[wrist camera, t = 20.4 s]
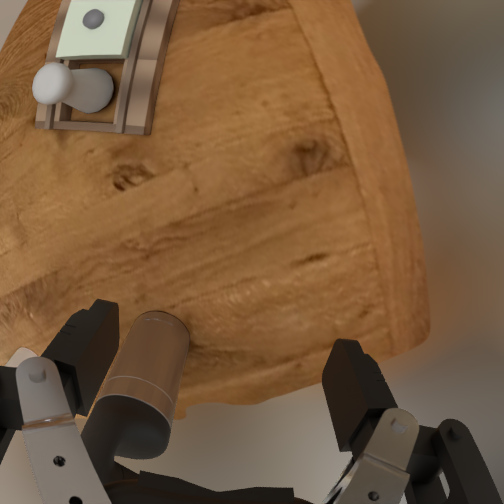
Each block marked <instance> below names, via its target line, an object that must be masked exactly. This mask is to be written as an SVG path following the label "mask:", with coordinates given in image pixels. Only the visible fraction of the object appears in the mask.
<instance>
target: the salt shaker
mask: <svg viewBox="0 0 504 504" xmlns="http://www.w3.org/2000/svg"><path fill="white" fill-rule="evenodd" d="M32 90H33V95H34V97H35V99H36V100H37V101H38V102H40V103H43V104H46V105H52V104H56V103H59V102H63V103H65V104H68V105H69V106H71V107H73V108H75V109H77V110H79V111H82V112H84V113H87V114H89V113H93V112H97V111H99V110H101V109H102V108H104V107H105V106H107V104H108V103H109V101H110V99H111V98H112V95H113V91H114V84H113V80H112V77H111V76H110V75H109V74H108V73H107V72H106V71H105V70H102V69H98V68H89V69H77V70H70V69H69V68H68V67H67V66H66V65H65V64H61V63H56V62H55V63H50V64H47V65H44V66H43V67H42V68H41V69H40V70H39V71H38V73H37V74H36V76H35V78H34V81H33V87H32Z"/></svg>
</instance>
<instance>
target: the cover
mask: <svg viewBox="0 0 504 504" xmlns="http://www.w3.org/2000/svg"><path fill="white" fill-rule="evenodd" d="M143 1H144V0H71V3H70V6H69V9H68V12H67V15H66V19H65V22H64V26H63V29H62V33H61V37H60V41H59V45H58V49H57V53H56V58H60V59H63V60H76V59H128V57H129V53H130V49H131V45H132V41H133V37H134V33H135V29H136V25H137V21H138V18H139V14H140V11H141V7H142V4H143Z"/></svg>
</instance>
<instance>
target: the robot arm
mask: <svg viewBox="0 0 504 504" xmlns="http://www.w3.org/2000/svg"><path fill="white" fill-rule="evenodd" d="M119 338H120V337H119V308H118V304H117V303H115V302H110V301H106V300H101V299H97V300H96V301H95V302H94V304H93V305H92V306H91V308H90V309H89V310H85V309H82V310H80V311H78V312H76V313H75V314H73V315H72V316H71V317H70V318H69V319H68V321H67V322H66V323H65V325H64V326H63V327H62V328H61V330H60V333H59V332H58V334H57V335H56V336H55V338H54V339H53V340H52V342H51V343H50V344H49V346H48V347H47V348H46V350H45V351H44V352H43V354H42V355H41V357H31V358H28V359H26V360H24V361H22V362H21V363H20V364H19V366H18V367H6V366H0V464H1V462H2V460H3V457H4V455H5V453H6V450H7V448H8V446H9V444H10V441H11V439H12V437H13V435H14V433H15V431H16V430H21V431H22V433H23V438H24V442H25V446H26V450H27V454H28V457H29V461H30V464H31V468H32V471H33V475H34V478H35V481H36V484H37V487H38V490H39V493H40V496H41V499H42V501H43V504H313V503H311V502H308V501H306V500H303V499H300V498H296V497H294V491H293V488H273V487H253V488H246V489H239V490H231V491H223V492H216V491H212V490H209V489H206V488H203V487H200V486H198V485H195V484H192V483H189V482H187V481H184V480H182V479H179V478H175V477H169V476H164V475H159V474H154V473H150V472H145V471H140V474H137V473H135V472H133V471H131V470H130V469H128V468H126V467H124V466H122V465H120V464H119V463H117V462H115V461H114V456H121V457H126V458H131V459H152V458H155V457H158V456H160V455H161V454H162V453H164V451H165V450H166V448H167V446H168V443H169V438H170V433H171V427H172V422H173V417H174V412H175V407H176V402H177V398H178V393H179V388H180V384H181V379H182V375H183V370H184V366H185V362H186V358H187V353H188V349H189V344H190V337H189V333H188V331H187V329H186V327H185V326H184V324H183V323H182V322H181V321H180V320H178V319H177V318H175V317H174V316H172V315H170V314H167V313H163V312H157V311H154V312H147V313H144V314H142V315H141V316H139V317H138V318H137V319H136V320H135V322H134V324H133V326H132V328H131V330H130V332H129V334H128V336H127V337H126V339H125V341H124V343H123V345H122V347H121V349H120V352H119V354H118V356H117V358H116V360H115V362H114V364H113V366H112V368H111V370H110V372H109V375H108V377H107V379H106V381H105V383H104V385H103V388H102V390H101V392H100V394H99V397H98V399H97V401H96V403H95V406H94V408H93V410H92V412H91V414H90V416H89V418H88V420H87V422H86V425H85V426H84V429H83V431H82V433H81V435H80V434H79V431H78V428H77V426H76V423H75V420H74V418H75V415H76V414H79V415H83V416H86V417H87V415H88V413H89V411H90V408H91V406H92V404H93V402H94V400H95V397H96V395H97V393H98V391H99V389H100V387H101V384H102V382H103V380H104V378H105V376H106V374H107V372H108V370H109V368H110V366H111V363H112V361H113V359H114V357H115V355H116V353H117V350H118V347H119ZM322 385H323V389H324V392H325V396H326V400H327V404H328V408H329V411H330V415H331V419H332V423H333V427H334V431H335V435H336V439H337V443H338V447H339V451H340V452H347V451H352V455H353V457H352V458H351V459H350V461H349V462H348V464H347V466H346V467H345V469H344V471H343V472H342V474H341V475H340V477H339V478H338V480H337V482H336V483H335V485H334V486H333V488H332V489H331V491H330V492H329V494H328V495H327V497H326V498H325V499H324V500H323V502H322V503H321V504H399V503H400V501H401V498H402V496H403V493H405V497H406V500H407V504H503V503H502V500H501V498H500V496H499V493H498V491H497V488H496V486H495V484H494V482H493V479H492V477H491V475H490V473H489V470H488V468H487V466H486V464H485V462H484V460H483V457H482V456H481V453H480V451H479V449H478V447H477V445H476V443H475V442H474V439H473V437H472V435H471V433H470V431H469V429H468V428H467V427H466V426H465V425H464V424H463V423H462V422H460V421H458V420H455V419H446V420H444V421H442V423H441V424H440V425H439V426H438V428H432V427H426V426H421V425H419V423H418V421H417V419H416V418H415V417H414V416H413V415H412V414H411V413H410V412H408V411H406V410H404V409H401V408H398V406H397V404H396V402H395V400H394V397H393V395H392V393H391V391H390V389H389V387H388V385H387V383H386V382H385V379H384V377H383V375H382V374H381V370H380V368H379V366H378V364H377V362H376V361H375V360H374V359H372V358H371V357H370V356H369V355H368V354H364V352H363V350H362V348H361V346H360V344H359V342H358V341H357V340H349V339H337V340H336V341H335V343H334V346H333V348H332V351H331V353H330V355H329V358H328V360H327V363H326V365H325V367H324V370H323V374H322ZM442 472H444V474H445V477H446V480H447V482H448V485H449V489H450V493H449V497H448V499H447V497H446V494H445V492H444V489H443V486H442V483H441V480H440V478H439V475H440V474H441V473H442Z"/></svg>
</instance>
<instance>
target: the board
mask: <svg viewBox="0 0 504 504" xmlns="http://www.w3.org/2000/svg"><path fill="white" fill-rule="evenodd" d="M179 1H180V0H144V1H143V4H142V7H141V11H140V14H139V18H138V21H137V25H136V29H135V33H134V37H133V41H132V45H131V49H130V53H129V57H128V59H76V60H63V59H60V58H56V53H57V49H58V45H59V41H60V37H61V33H62V29H63V26H64V22H65V19H66V15H67V12H68V9H69V6H70V3H71V0H62V2H61V5H60V9H59V12H58V15H57V18H56V22H55V25H54V29H53V33H52V36H51V40H50V44H49V48H48V53H47V57H46V61H45V65H47V64H50V63H55V62H56V63H61V64H65V65H66V66H67V67H68V68H69V69H70V70H77V69H79V66H80V64H86V63H124V67H123V71H122V76H121V81H120V87H119V92H118V98H117V103H116V109H115V116H114V122H113V123H103V122H85V121H70V118H71V111H72V107H71V106H69V105H68V104H65V103H63V102H59V103H56V104H52V105H46V104H43V103H40V102H38V107H37V114H36V123H35V128H37V129H70V130H89V131H104V132H115V133H128V134H138V135H150V134H151V128H152V122H153V116H154V110H155V104H156V99H157V94H158V88H159V83H160V78H161V73H162V69H163V64H164V60H165V55H166V51H167V47H168V42H169V38H170V34H171V30H172V26H173V23H174V19H175V15H176V11H177V8H178V4H179Z"/></svg>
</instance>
